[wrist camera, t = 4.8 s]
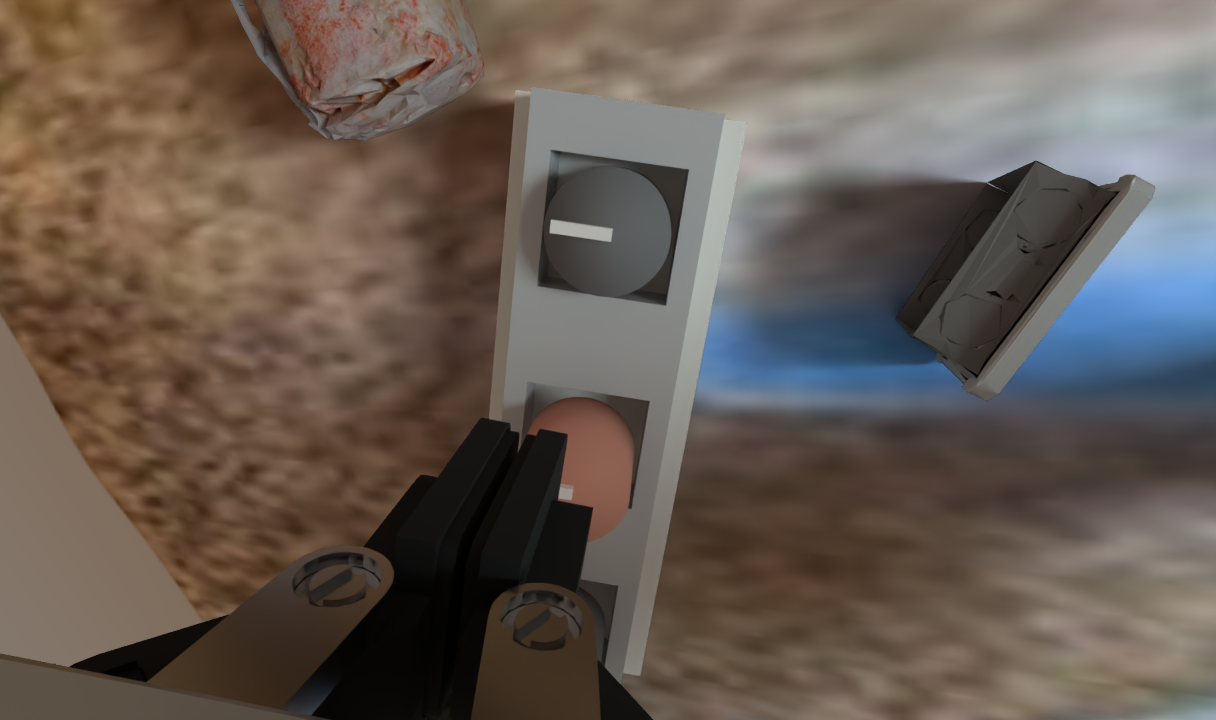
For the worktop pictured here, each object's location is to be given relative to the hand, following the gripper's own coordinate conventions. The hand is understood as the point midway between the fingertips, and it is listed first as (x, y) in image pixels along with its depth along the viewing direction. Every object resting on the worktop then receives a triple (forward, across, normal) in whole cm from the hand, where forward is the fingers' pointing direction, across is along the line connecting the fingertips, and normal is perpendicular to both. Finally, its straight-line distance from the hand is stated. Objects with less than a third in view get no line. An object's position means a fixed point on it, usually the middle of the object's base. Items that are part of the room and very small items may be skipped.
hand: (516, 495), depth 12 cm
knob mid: (+16, 0, +6) cm, 17 cm away
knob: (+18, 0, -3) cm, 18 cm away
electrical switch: (+22, -17, -4) cm, 28 cm away
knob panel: (+22, 0, +6) cm, 23 cm away
